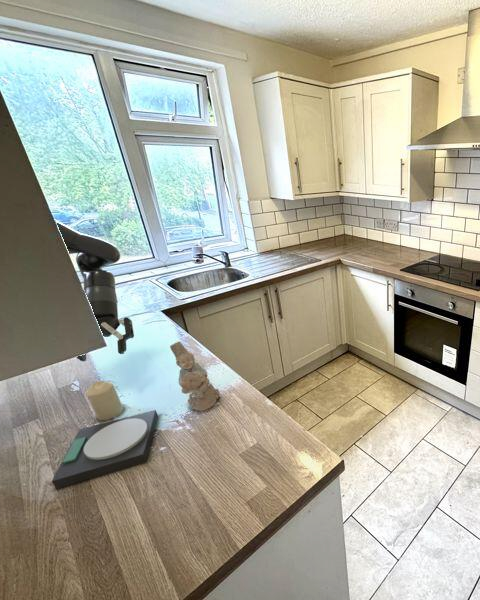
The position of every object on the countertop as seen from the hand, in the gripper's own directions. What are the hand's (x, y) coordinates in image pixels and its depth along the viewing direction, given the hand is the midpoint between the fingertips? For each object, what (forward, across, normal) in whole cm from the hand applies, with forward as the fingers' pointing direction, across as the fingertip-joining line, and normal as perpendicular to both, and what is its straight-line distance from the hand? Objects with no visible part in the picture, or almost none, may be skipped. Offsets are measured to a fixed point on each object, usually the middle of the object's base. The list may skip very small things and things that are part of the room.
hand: (102, 356), depth 92 cm
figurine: (+20, +23, 0) cm, 30 cm away
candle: (+16, 0, +4) cm, 16 cm away
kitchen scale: (+26, +4, -7) cm, 27 cm away
